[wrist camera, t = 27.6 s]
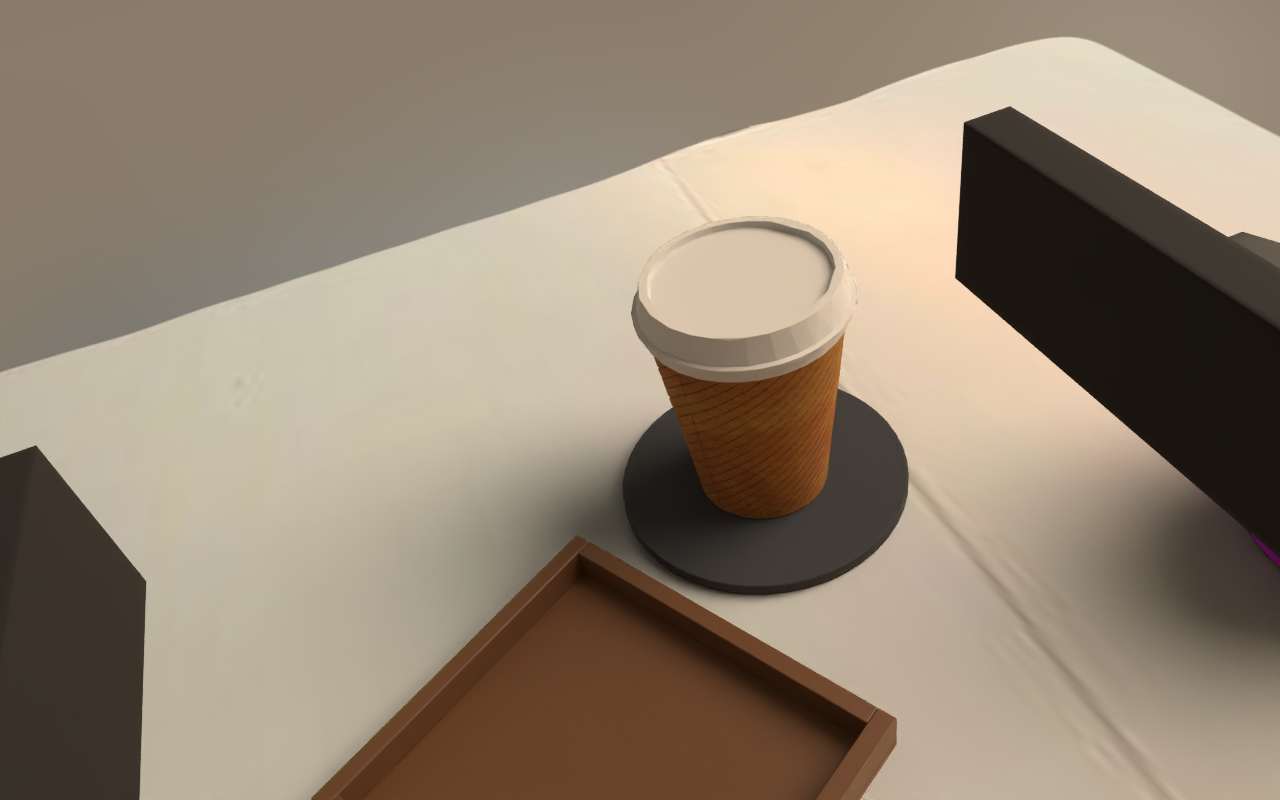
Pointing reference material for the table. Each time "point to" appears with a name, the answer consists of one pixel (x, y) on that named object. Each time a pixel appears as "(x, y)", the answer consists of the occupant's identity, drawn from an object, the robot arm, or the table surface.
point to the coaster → (771, 547)
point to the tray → (619, 706)
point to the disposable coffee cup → (750, 354)
